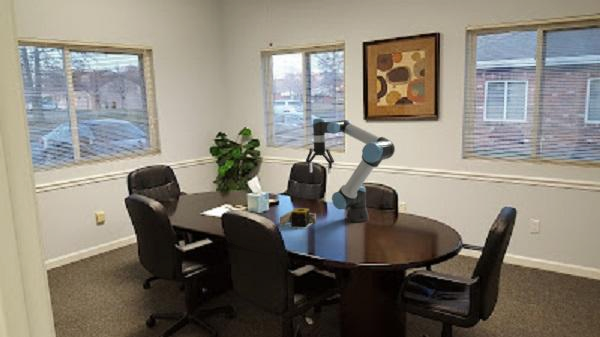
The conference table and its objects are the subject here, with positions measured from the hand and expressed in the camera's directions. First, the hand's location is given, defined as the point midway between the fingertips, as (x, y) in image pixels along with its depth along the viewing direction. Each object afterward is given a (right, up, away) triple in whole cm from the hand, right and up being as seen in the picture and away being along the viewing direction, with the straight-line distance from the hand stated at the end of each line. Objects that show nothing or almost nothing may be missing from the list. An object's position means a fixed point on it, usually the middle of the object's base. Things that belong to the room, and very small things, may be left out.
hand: (320, 172), depth 307 cm
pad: (-13, -34, -9) cm, 38 cm away
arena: (-15, -34, -7) cm, 38 cm away
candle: (-13, -34, -9) cm, 38 cm away
